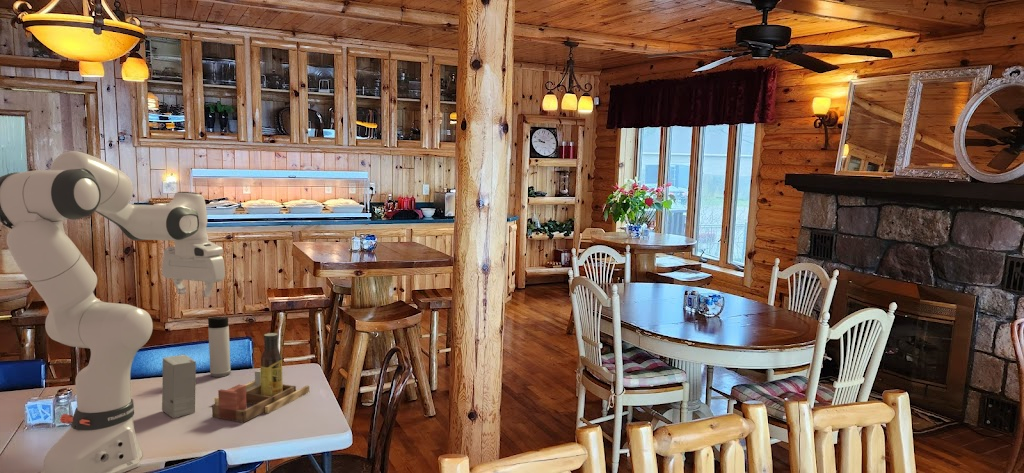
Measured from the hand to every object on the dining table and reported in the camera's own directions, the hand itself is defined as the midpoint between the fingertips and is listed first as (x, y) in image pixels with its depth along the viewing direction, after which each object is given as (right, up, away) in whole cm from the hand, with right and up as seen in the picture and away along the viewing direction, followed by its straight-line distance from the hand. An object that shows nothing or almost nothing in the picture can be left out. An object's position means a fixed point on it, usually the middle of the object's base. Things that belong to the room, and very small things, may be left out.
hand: (194, 295), depth 193 cm
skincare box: (-3, -34, -1) cm, 34 cm away
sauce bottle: (+19, -33, +10) cm, 39 cm away
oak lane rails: (+16, -32, +10) cm, 38 cm away
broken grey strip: (+11, -32, +13) cm, 36 cm away
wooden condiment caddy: (+17, -33, +3) cm, 37 cm away
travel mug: (-6, -30, +31) cm, 44 cm away
